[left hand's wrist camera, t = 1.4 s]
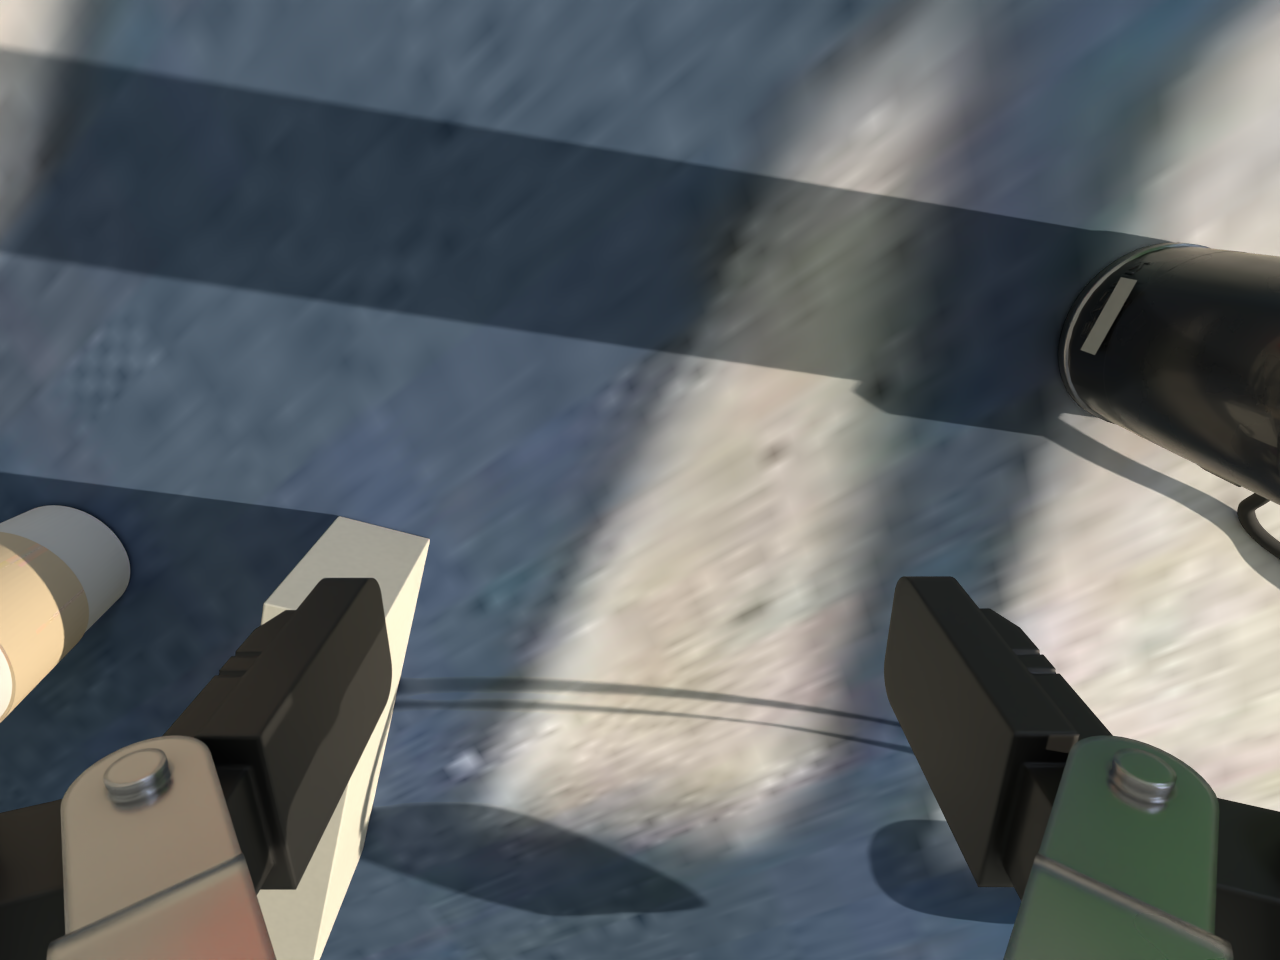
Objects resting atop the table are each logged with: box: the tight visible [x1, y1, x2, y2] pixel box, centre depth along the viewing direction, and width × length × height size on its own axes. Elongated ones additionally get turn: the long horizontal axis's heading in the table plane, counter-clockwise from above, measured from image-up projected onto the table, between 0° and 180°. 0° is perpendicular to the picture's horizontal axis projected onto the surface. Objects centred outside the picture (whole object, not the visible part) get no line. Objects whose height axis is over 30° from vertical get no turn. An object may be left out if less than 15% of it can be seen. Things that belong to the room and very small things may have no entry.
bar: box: [257, 516, 430, 960], centre depth 42 cm, size 25×5×9 cm, turn 163°
